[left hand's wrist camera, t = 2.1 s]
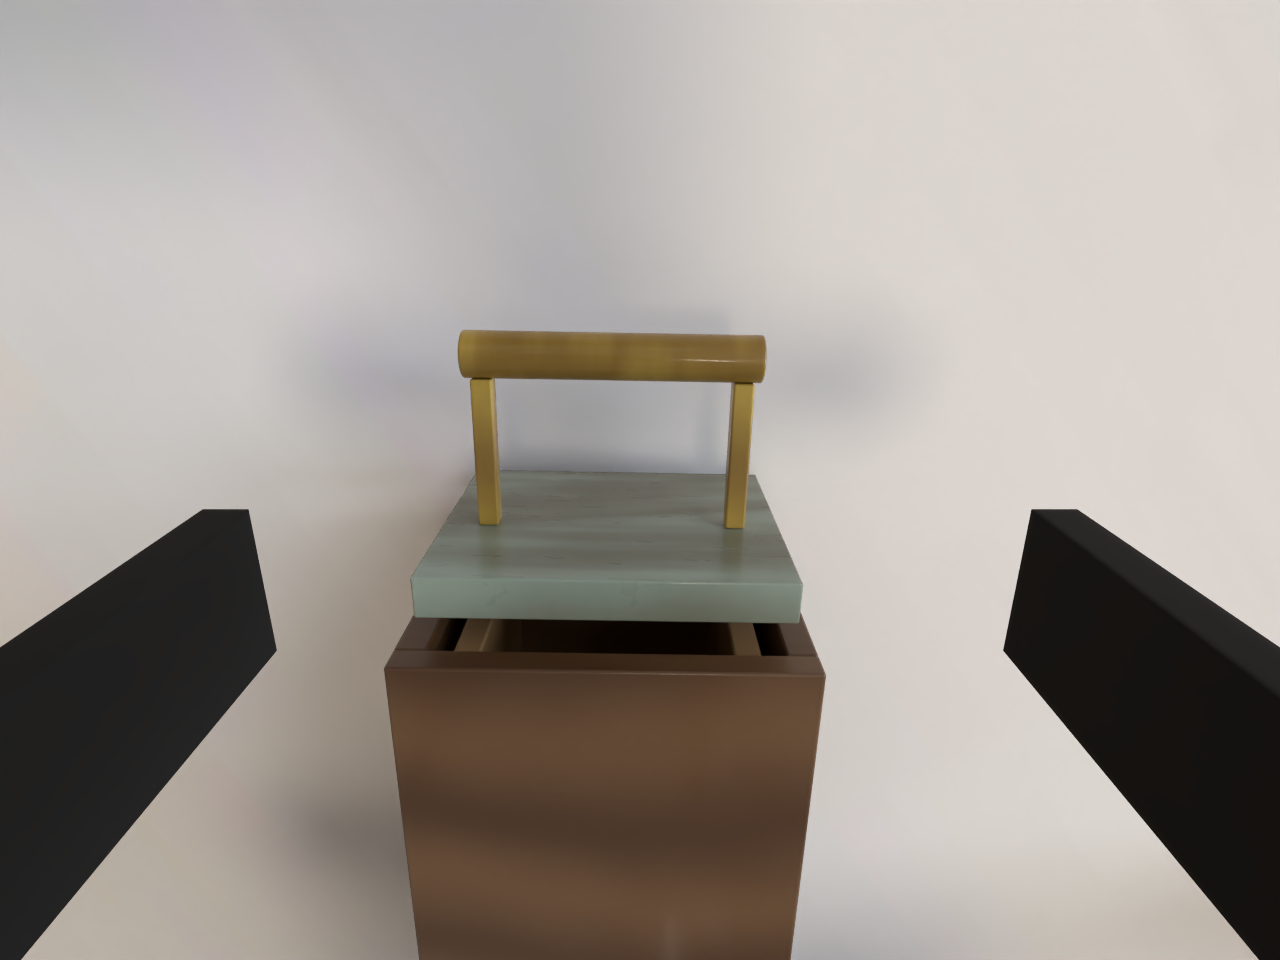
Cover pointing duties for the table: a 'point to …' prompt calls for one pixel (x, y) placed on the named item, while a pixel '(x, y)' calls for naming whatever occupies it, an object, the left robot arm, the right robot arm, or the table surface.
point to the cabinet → (604, 797)
